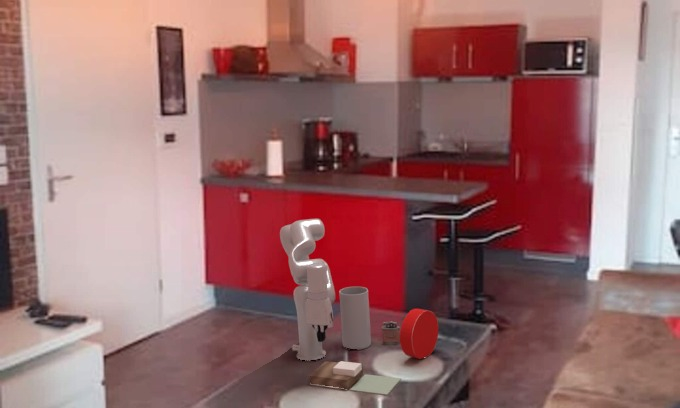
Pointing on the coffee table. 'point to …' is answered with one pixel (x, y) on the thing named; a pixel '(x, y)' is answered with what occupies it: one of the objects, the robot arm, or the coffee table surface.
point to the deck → (332, 376)
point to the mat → (375, 384)
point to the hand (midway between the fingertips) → (321, 340)
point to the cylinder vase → (355, 317)
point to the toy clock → (419, 333)
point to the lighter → (391, 333)
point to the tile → (347, 368)
